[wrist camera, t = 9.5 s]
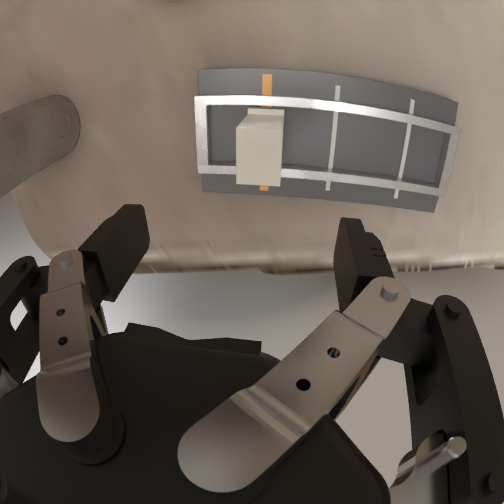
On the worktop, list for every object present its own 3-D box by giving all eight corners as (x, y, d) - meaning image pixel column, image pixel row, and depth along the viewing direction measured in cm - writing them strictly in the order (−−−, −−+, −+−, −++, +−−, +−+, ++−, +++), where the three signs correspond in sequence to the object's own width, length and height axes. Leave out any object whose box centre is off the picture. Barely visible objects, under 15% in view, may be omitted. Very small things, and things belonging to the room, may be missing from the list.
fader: (284, 108, 23) (283, 122, 18) (281, 162, 26) (279, 193, 21) (249, 106, 24) (235, 120, 18) (248, 160, 26) (236, 190, 21)
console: (448, 99, 22) (464, 104, 19) (427, 204, 29) (438, 218, 26) (203, 69, 24) (193, 70, 21) (207, 184, 31) (199, 196, 28)
